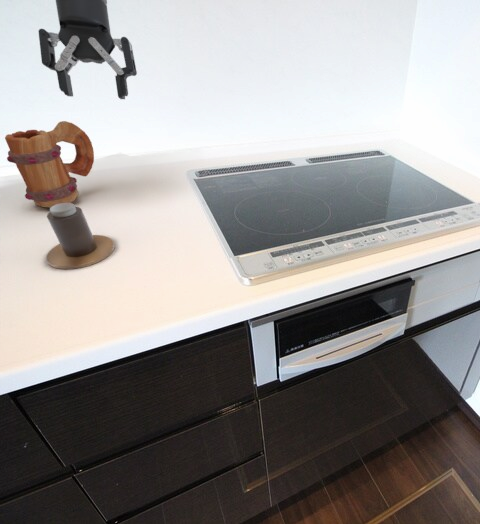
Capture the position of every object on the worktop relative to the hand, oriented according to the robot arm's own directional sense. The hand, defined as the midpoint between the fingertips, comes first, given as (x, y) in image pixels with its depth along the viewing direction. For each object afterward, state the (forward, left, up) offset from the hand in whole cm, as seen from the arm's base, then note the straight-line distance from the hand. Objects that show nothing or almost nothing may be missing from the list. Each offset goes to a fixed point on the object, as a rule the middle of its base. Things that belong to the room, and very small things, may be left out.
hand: (95, 97), depth 68 cm
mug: (-10, +4, -21) cm, 23 cm away
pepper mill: (-9, -20, -20) cm, 30 cm away
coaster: (-9, -20, -20) cm, 30 cm away
